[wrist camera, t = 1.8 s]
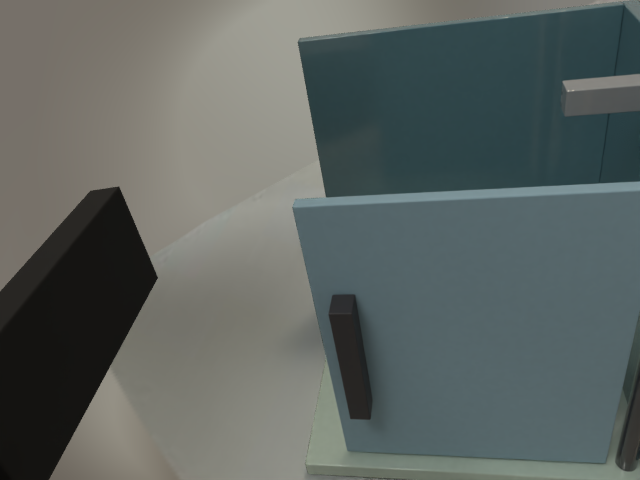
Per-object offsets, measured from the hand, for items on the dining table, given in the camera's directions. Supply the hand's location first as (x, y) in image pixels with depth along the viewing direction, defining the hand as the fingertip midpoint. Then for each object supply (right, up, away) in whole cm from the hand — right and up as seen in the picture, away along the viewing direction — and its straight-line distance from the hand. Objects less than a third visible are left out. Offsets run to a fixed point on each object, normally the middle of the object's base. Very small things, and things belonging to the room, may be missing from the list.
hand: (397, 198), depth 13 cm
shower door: (+6, -12, +16) cm, 21 cm away
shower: (+8, -9, +23) cm, 26 cm away
